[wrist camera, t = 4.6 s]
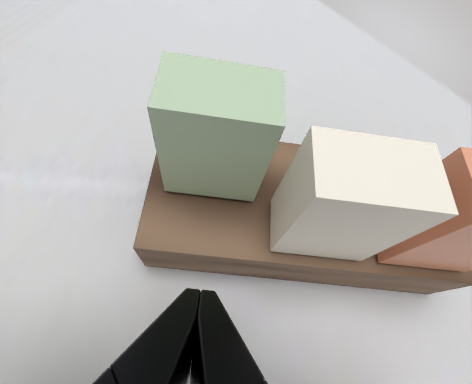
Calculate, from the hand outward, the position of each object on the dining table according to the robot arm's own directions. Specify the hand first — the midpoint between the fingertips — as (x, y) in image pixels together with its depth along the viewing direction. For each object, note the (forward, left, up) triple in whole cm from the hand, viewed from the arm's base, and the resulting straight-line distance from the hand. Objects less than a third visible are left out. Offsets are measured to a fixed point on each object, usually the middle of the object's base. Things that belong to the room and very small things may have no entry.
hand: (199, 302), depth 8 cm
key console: (+3, -8, -10) cm, 13 cm away
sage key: (+7, -4, -6) cm, 9 cm away
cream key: (+1, -7, -6) cm, 9 cm away
